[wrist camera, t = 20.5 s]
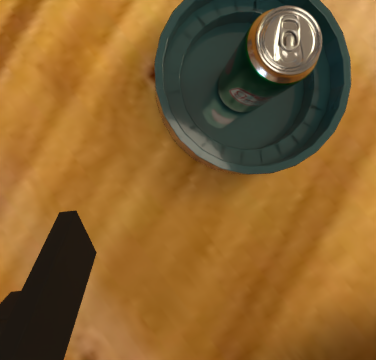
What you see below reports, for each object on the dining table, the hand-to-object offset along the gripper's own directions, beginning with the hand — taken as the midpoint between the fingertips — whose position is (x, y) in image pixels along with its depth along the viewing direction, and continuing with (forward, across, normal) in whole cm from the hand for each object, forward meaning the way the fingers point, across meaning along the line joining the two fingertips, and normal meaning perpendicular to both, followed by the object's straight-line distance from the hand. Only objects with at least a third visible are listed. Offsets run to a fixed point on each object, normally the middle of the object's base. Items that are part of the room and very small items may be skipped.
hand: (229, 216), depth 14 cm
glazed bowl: (+22, +3, -3) cm, 22 cm away
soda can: (+21, +3, -3) cm, 22 cm away
